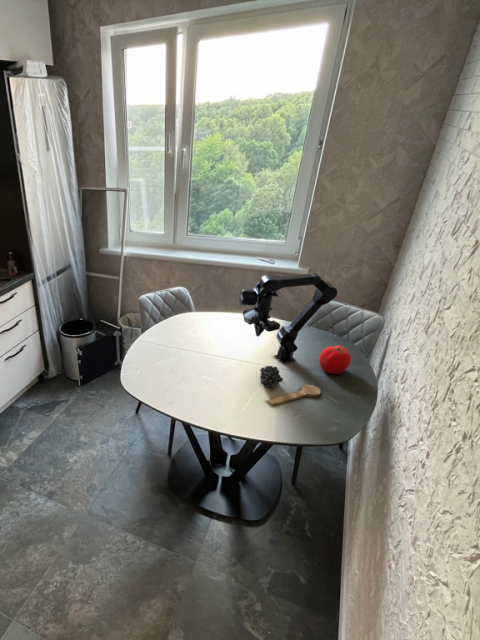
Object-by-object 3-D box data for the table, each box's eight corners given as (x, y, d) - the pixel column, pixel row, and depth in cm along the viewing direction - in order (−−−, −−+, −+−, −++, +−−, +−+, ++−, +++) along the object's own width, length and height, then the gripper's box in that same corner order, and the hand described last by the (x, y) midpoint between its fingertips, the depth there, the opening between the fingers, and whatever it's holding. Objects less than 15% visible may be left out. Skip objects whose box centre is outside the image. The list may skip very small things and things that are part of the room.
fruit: (263, 354, 175) (269, 372, 163) (281, 360, 175) (288, 379, 163) (254, 369, 180) (258, 388, 168) (271, 375, 180) (277, 394, 168)
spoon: (310, 385, 170) (311, 383, 169) (323, 394, 164) (324, 392, 164) (264, 399, 164) (264, 396, 163) (275, 408, 158) (276, 406, 158)
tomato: (311, 371, 179) (318, 349, 172) (322, 359, 187) (328, 337, 180) (341, 381, 172) (349, 358, 165) (350, 368, 179) (358, 345, 173)
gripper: (235, 300, 180) (230, 331, 189) (262, 316, 165) (256, 349, 174) (255, 296, 183) (250, 326, 192) (284, 311, 168) (277, 343, 177)
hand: (257, 336), depth 183 cm, fingers closed
